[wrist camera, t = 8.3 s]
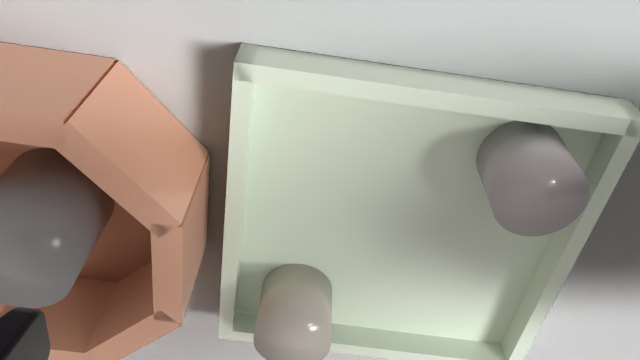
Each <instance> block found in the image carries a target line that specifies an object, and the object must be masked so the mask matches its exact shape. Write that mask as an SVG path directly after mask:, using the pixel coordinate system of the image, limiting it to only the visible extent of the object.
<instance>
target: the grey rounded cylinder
mask: <svg viewBox="0 0 640 360" xmlns="http://www.w3.org/2000/svg"><path fill="white" fill-rule="evenodd" d="M113 210H114V199H112V198H111V197H110V196H109V195H108V194H107V193H106V192H104V191H103V190H102V189H101V188H100V187H99V186H97V185H96V184H95V183H94V182H93V181H92V180H91V179H89V178H88V177H87V176H86V175H85V174H84V173H82V172H81V171H80V170H79V169H78V168H77V167H76V166H74V165H73V164H72V163H71V162H70V161H69V160H67V159H66V158H65V157H64V156H63V155H62V154H60V153H59V152H58V151H57V150H56V149H55V148H36V149H32V150H29V151H26V152H24V153H22V154H21V155H19V156H18V157H17V158H16V159H15V160H14V161H13V162H12V163H11V164H10V165H9V166H8V167H7V168H6V170H5V171H4V172H3V173H2V174H1V175H0V303H2V304H5V305H9V306H13V307H24V308H42V307H46V306H50V305H53V304H55V303H57V302H59V301H61V300H62V299H63V298H65V297H66V296H67V294H68V293H69V292H70V290H71V288H72V286H73V285H74V283H75V281H76V279H77V277H78V276H79V274H80V272H81V270H82V268H83V266H84V265H85V263H86V261H87V259H88V257H89V255H90V254H91V252H92V250H93V248H94V246H95V245H96V243H97V241H98V239H99V237H100V235H101V234H102V232H103V230H104V228H105V226H106V224H107V223H108V221H109V219H110V217H111V215H112V213H113Z"/></svg>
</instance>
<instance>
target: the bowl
mask: <svg viewBox="0 0 640 360" xmlns="http://www.w3.org/2000/svg"><path fill="white" fill-rule="evenodd" d="M36 148H55V149H56V150H57V151H58V152H59V153H60V154H62V155H63V156H64V157H65V158H66V159H67V160H69V161H70V162H71V163H72V164H73V165H74V166H76V167H77V168H78V169H79V170H80V171H81V172H82V173H84V174H85V175H86V176H87V177H88V178H89V179H91V180H92V181H93V182H94V183H95V184H96V185H97V186H99V187H100V188H101V189H102V190H103V191H104V192H106V193H107V194H108V195H109V196H110V197H111V198H112V199H114V210H113V213H112V215H111V217H110V219H109V221H108V223H107V224H106V226H105V228H104V230H103V232H102V234H101V235H100V237H99V239H98V241H97V243H96V245H95V246H94V248H93V250H92V252H91V254H90V255H89V257H88V259H87V261H86V263H85V265H84V266H83V268H82V270H81V272H80V274H79V276H78V277H77V279H76V281H75V283H74V285H73V286H72V288H71V290H70V292H69V293H68V294H67V296H66V297H65V298H63V299H62V300H61V301H59V302H57V303H55V304H53V305H50V306H46V307H42V308H33V309H39V310H41V311H42V312H43V313H44V315H45V318H46V323H47V328H48V333H49V338H50V344H51V347H50V354H49V358H48V360H120V359H122V358H123V357H125V356H127V355H129V354H131V353H132V352H134V351H136V350H138V349H140V348H142V347H143V346H145V345H147V344H149V343H151V342H153V341H154V340H156V339H158V338H160V337H162V336H163V335H165V334H167V333H169V332H171V331H173V330H174V329H176V328H178V327H180V326H181V324H182V323H183V320H184V316H185V313H186V310H187V307H188V303H189V300H190V297H191V293H192V290H193V287H194V284H195V280H196V277H197V274H198V270H199V267H200V264H201V261H202V257H203V254H204V251H205V247H206V244H207V220H208V192H209V164H210V154H208V150H207V149H206V148H205V147H204V146H203V145H202V144H201V143H200V142H199V141H198V140H197V139H196V138H195V137H194V136H193V135H192V134H191V133H190V132H189V131H188V130H187V129H186V128H185V127H184V126H183V125H182V124H181V123H180V122H179V121H178V120H177V119H176V118H175V117H174V116H173V115H172V114H171V113H170V112H169V111H168V110H167V109H166V108H165V107H164V106H163V105H162V104H161V103H160V102H159V101H158V99H157V98H156V97H155V96H154V95H153V94H152V93H151V92H150V91H149V90H148V89H147V88H146V87H145V86H144V85H143V84H142V83H141V82H140V81H139V80H138V79H137V78H136V77H135V76H134V75H133V74H132V73H131V72H130V71H129V70H128V69H127V68H126V67H125V66H124V65H123V64H122V63H121V62H120V61H118V62H116V63H115V58H108V57H101V56H94V55H87V54H80V53H73V52H66V51H59V50H52V49H45V48H38V47H31V46H24V45H17V44H10V43H4V42H0V175H1V174H2V173H3V172H4V171H5V170H6V168H7V167H8V166H9V165H10V164H11V163H12V162H13V161H14V160H15V159H16V158H17V157H18V156H19V155H21V154H22V153H24V152H26V151H29V150H32V149H36ZM13 308H16V307H13V306H9V305H5V304H2V303H0V317H1V316H2V315H4V314H5V313H7V312H8V311H9V310H11V309H13Z"/></svg>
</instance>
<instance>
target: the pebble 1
mask: <svg viewBox="0 0 640 360" xmlns="http://www.w3.org/2000/svg"><path fill="white" fill-rule="evenodd" d="M331 328H332V285H331V282H330V280H329V279H328V277H327V276H326V275H325V274H324V273H323V272H321V271H320V270H318V269H316V268H314V267H312V266H309V265H304V264H286V265H282V266H279V267H277V268H275V269H273V270H272V271H270V272H269V273H268V274H267V275H266V277H265V278H264V281H263V284H262V290H261V296H260V302H259V308H258V314H257V319H256V325H255V331H254V338H253V341H254V345H255V348H256V349H257V351H258V352H259V353H260V354H261V355H262V356H263V357H264V358H265V359H267V360H321V359H323V358H324V357H325V356H326V355H327V354H328V352H329V350H330V347H331Z"/></svg>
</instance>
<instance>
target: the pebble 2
mask: <svg viewBox="0 0 640 360" xmlns="http://www.w3.org/2000/svg"><path fill="white" fill-rule="evenodd" d="M476 166H477V170H478V173H479V176H480V179H481V182H482V184H483V187H484V190H485V193H486V196H487V198H488V201H489V204H490V207H491V209H492V212H493V215H494V217H495V219H496V221H497V222H498V223H499V224H500V226H502V227H503V228H504V229H506V230H507V231H509V232H511V233H514V234H517V235H521V236H543V235H547V234H551V233H554V232H556V231H559V230H561V229H563V228H565V227H566V226H568V225H569V224H571V223H572V222H573V221H574V220H576V219H577V218H578V217H579V215H580V214H581V213H582V212H583V210H584V209H585V207H586V205H587V202H588V199H589V194H590V188H589V183H588V180H587V178H586V176H585V175H584V173H583V172H582V170H581V168H580V167H579V165H578V164H577V162H576V161H575V159H574V157H573V156H572V154H571V153H570V151H569V149H568V148H567V146H566V145H565V143H564V142H563V140H562V138H561V137H560V135H559V134H558V132H557V131H556V130H555V129H554V128H553V127H551V126H550V125H544V124H537V123H530V122H523V121H516V120H515V121H511V122H508V123H506V124H503V125H501V126H499V127H498V128H496V129H495V130H493V131H492V132H491V133H490V134H489V135H488V136H487V137H486V138H485V139H484V140H483V142H482V143H481V145H480V147H479V149H478V152H477V156H476Z"/></svg>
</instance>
